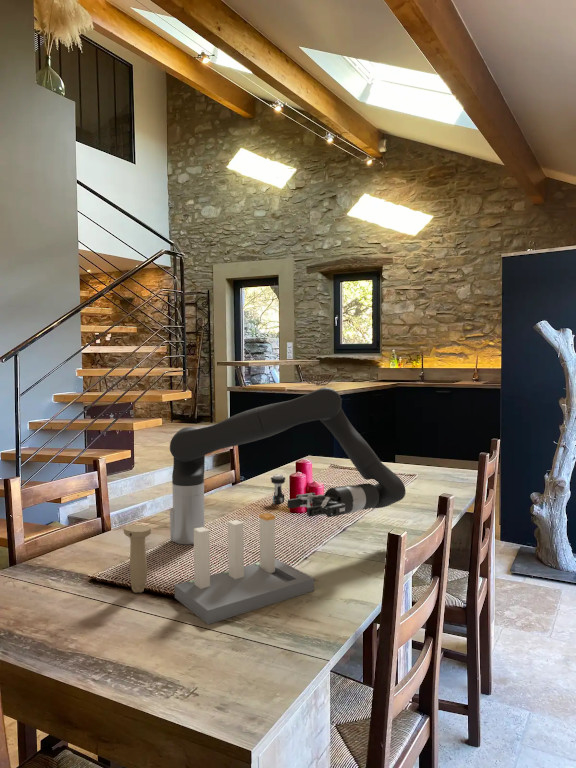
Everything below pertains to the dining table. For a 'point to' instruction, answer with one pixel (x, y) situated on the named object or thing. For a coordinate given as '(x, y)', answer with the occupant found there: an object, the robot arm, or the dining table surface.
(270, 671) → the dining table surface
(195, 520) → the robot arm
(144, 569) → the handle
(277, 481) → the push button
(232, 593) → the three peg stand
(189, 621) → the dining table surface
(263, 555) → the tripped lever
